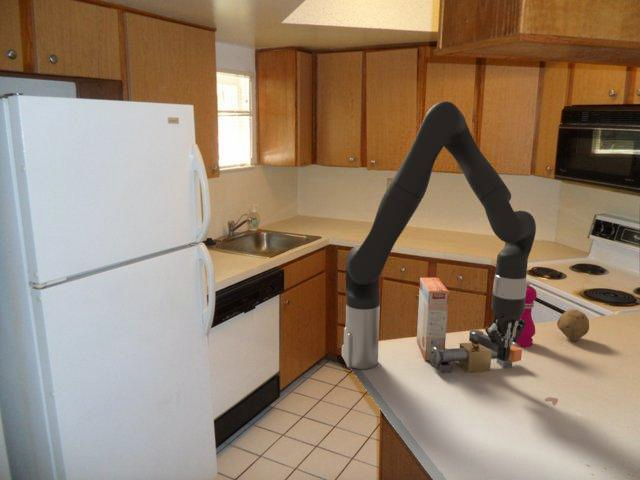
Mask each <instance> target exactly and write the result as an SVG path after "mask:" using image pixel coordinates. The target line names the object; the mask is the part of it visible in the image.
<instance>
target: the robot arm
mask: <svg viewBox="0 0 640 480" xmlns="http://www.w3.org/2000/svg"><path fill="white" fill-rule="evenodd" d="M422 120H423V121H422V122H421V124H420V127H419V129H418V132H417V134H416V136H415V139H414V141H413V143H412V145H411V147H410V149H409V151H408V152H407V154H406V155H405V158H404V159H403V161H402V163H401V164H400V166H399V168H398V170H397V171H396V173H395V175H394V176H393V178H392V180H391V181H390V183H389V185H388V187H387V188H386V190H385V192H384V194H383V196H382V198H381V200H380V203H379V206H378V209H377V212H376V214H375V216H374V217H375V218H374V220H373V223H372V226H371V229H370V230H369V233H368V234H367V236H366V238H365V239H364V240H363V242H362V243H361V244H358V245H356V246H354V247H352V248H351V249H350V251H348V253H347V254H346V259H345V327H344V328H343V356H342V357H343V360H344V362H345V365H346V366H347V368H353V369H359V370H368V369H372V368H375V367H376V366H377V365H378V364H379V341H380V340H379V337H380V335H379V334H380V309H381V307H380V306H381V305H380V304H381V303H380V302H381V300H380V299H381V294H380V285H379V283H380V282H379V278H380V276H381V274H382V272H383V270H384V268H385V266H386V263H387V261H388V259H389V257H390V254H391V252H392V250H393V248H394V246H395V244H396V242H397V240H398V238H399V237H400V236H401V234H402V233H403V232H404V230H405V229H406V227H407V225H408V223H409V222H410V220H411V219H412V217H413V215H414V214H415V212H416V211H417V209H418V208H419V205H420V204H421V203H422V200H423V198H424V196H425V194H426V192H427V189H428V186H429V183H430V179H431V175H432V171H433V168H434V165H435V162H436V159H438V156H439V154H440V152H441V151H442V150H443V148H444V149H446V150H447V151H448V152H449V153H450V155H451V156H452V157H453V158H454V159H455V161H456V163H457V164H458V166H459V167H460V169H461V171H462V173H463V175H464V178H465V179H466V181H467V183H468V185H469V186H470V188H471V189H472V192H473V193H474V194H475V196H476V198H477V199H478V201H479V202H480V204H481V206H483V209H484V211H485V215H486V217H487V220H488V222H489V225H490V228H491V229H492V231H493V233H494V234H495V236H496V237H497V238H498V239H499V240H500V241H502V242H504V247H503V248H502V249H501V250H500V251H499V252H498V253H497V255H496V256H497V257H496V262H495V274H494V279H493V285H492V286H493V287H492V299H491V311H492V312H493V313H494V315H493V318H492V324H491V325H490V327H489V326H486V327H485V329H484V330H485V333H486V335H487V336H489V338H490V340H491V341H492V343H493V344H495V345H498V354H497V357H498V359H499V360H502V361H506V360H508V359H509V354H510V346H512V343H513V342H515V343H516V342H517V340H518V338H519V336H520V335H521V333H522V331H523V329H524V327H525V325H526V322H525V321H523V320H521V319H520V318H521V316H520V315H522V314H523V313H524V307H525V297H526V286H527V285H526V281H527V276H528V275H527V274H528V273H527V272H528V265H529V264H528V261H529V256H530V253H531V251H532V247H533V245H534V242H535V237H536V233H537V232H536V231H537V223H536V220H535V218H534V216H533V215H532V214H531V213H529V212H528V211H526V210H516V211H515V210H514V209H513V207H512V205H511V203H510V201H511V199H512V193H511V191H510V189H509V188H508V187H507V184H506V183H505V182H504V181H503V179H502V178H501V176H500V175H499V173H498V172H497V171H496V169H495V168H494V166H493V165H492V164H491V163H490V162H489V161H488V159H487V158H486V156H484V154H483V153H482V152H481V150H480V148H479V147H478V145H477V144H476V143H477V142H476V141H475V140H474V137H473V134H472V132H471V131H470V129H469V126H468V124H467V121H466V118H465V116H464V114H463V113H462V112H461V110H460V109H459V107H458V106H457V105H456V104H454V103H452V102H451V101H445V100H443V101H440V102H437V103H435V104H434V105H433V106H431V107H430V108H429V109H428V111H427V113H426V114H425V116H424V118H423V119H422Z"/></svg>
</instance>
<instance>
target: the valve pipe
mask: <svg viewBox="0 0 640 480" xmlns="http://www.w3.org/2000/svg"><path fill="white" fill-rule="evenodd" d="M512 345H514V346H516V347H518V348H520V347H519V345H518V344H517V342H516V343H515V342H513V343H512ZM497 354H498V353H497V352H495V351H493V350H491V349H489V348H486V347H484V346H482V345H480V344H478V343H472V342H460V343H459V347H457V348H445V349H440V350H439V349H438V347H432V348H431V350H430V359H431V360H430V362H431V364H432V366H433V367H436V368H437V369H438V371H440V373H442V374H448V373H451V371H452V368H451V367H452V365H451V363H458V364H459V366H461V367H462V369H463V370H464V371H465V372H467V373H468V374H473V373H483V372H485V373H486V372H491V364H492V360H496V363H498V365H500V367H502V368H503V369H512V368H513V362H512V361H510V360H506V361H502V360H499V359H498V357H497Z"/></svg>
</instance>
